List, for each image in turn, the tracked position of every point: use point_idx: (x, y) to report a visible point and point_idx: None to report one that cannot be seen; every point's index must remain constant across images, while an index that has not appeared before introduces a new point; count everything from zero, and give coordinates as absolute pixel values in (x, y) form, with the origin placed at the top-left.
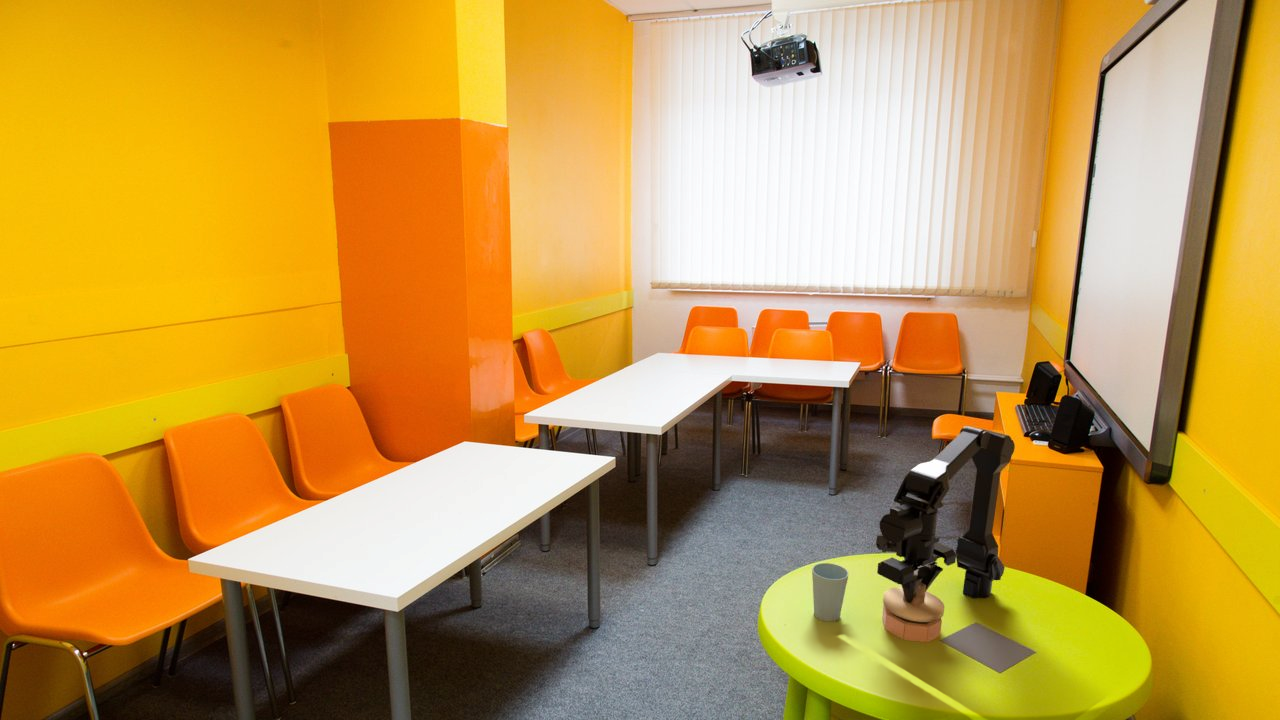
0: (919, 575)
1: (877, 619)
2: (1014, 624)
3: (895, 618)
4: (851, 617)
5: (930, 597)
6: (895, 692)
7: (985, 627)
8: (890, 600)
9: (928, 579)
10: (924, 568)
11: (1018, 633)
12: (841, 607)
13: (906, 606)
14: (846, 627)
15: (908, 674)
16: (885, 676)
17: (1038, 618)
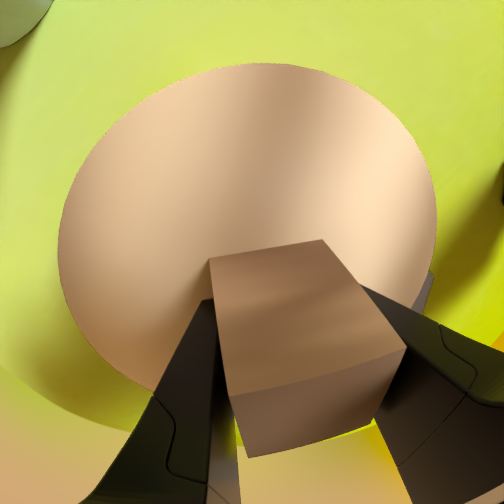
0: (435, 412)
1: (173, 71)
2: (472, 283)
3: None
4: (79, 27)
5: (394, 288)
6: (28, 377)
7: (423, 301)
8: (102, 229)
9: (399, 456)
10: (464, 491)
11: (448, 310)
12: (3, 27)
13: (168, 325)
14: (14, 95)
15: (74, 360)
16: (21, 344)
17: (501, 280)
